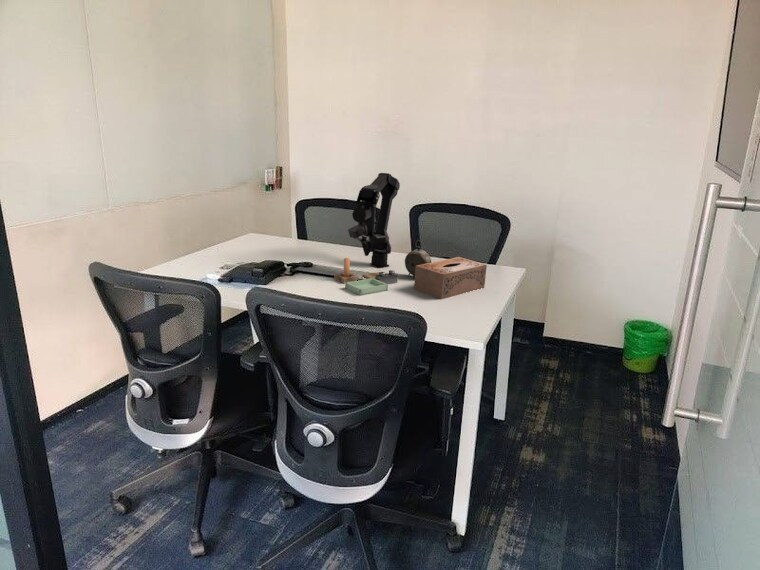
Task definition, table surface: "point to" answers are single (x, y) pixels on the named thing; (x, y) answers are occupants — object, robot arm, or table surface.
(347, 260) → the dowel
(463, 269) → the tissue box cover
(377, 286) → the tray
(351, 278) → the socket block
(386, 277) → the grey boxy piece
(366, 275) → the tan rectangular slab
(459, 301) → the table surface
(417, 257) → the alarm clock
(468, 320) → the table surface
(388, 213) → the robot arm
